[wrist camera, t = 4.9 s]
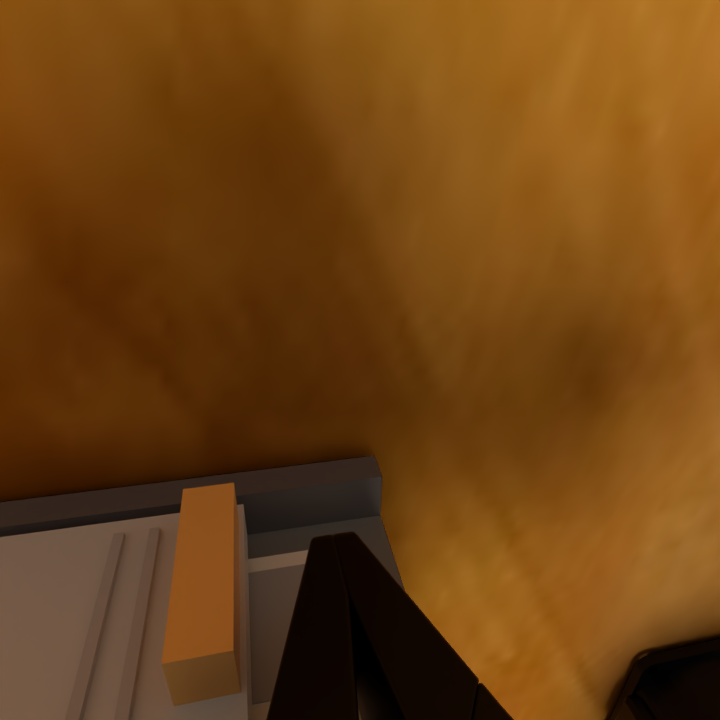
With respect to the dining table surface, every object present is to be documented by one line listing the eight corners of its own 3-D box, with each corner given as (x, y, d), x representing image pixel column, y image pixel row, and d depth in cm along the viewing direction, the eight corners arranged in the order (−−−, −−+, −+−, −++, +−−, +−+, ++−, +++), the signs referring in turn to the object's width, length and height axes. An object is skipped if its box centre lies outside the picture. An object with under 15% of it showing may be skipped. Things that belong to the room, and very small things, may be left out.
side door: (238, 465, 11) (241, 714, 7) (247, 535, 12) (254, 788, 8) (-81, 505, 10) (-320, 833, 6) (-42, 578, 11) (-219, 903, 7)
